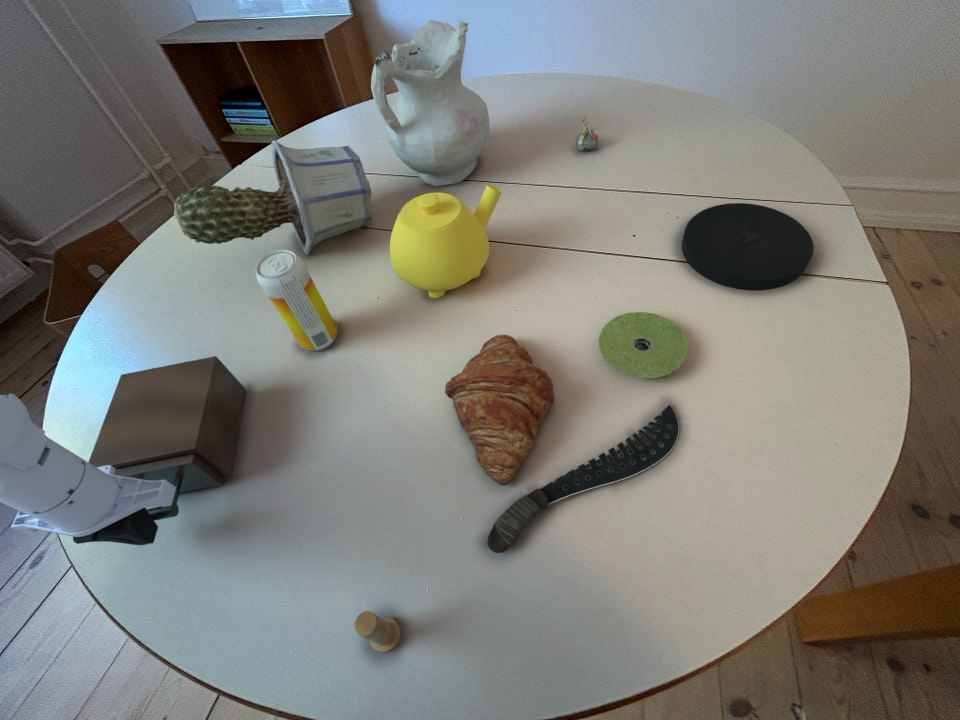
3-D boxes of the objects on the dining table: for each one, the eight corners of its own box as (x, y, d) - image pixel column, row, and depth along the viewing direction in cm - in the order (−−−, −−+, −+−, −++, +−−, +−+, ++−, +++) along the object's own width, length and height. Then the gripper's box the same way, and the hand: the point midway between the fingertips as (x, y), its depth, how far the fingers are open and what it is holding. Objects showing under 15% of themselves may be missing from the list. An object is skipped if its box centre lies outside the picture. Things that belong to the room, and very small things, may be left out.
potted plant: (338, 117, 86) (145, 138, 73) (380, 163, 77) (166, 198, 64) (346, 206, 99) (183, 238, 86) (383, 255, 90) (206, 299, 77)
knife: (697, 437, 58) (666, 406, 61) (702, 430, 57) (670, 399, 59) (502, 571, 51) (477, 529, 54) (502, 567, 50) (476, 524, 52)
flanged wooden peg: (387, 659, 47) (366, 650, 42) (365, 639, 49) (342, 628, 43) (406, 630, 49) (388, 618, 43) (384, 611, 50) (364, 597, 44)
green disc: (586, 331, 69) (586, 322, 67) (661, 312, 69) (664, 303, 68) (616, 395, 62) (618, 387, 60) (700, 374, 62) (704, 365, 61)
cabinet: (232, 477, 61) (194, 448, 55) (133, 497, 61) (85, 470, 55) (247, 390, 70) (216, 355, 63) (160, 407, 70) (120, 374, 63)
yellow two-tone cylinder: (327, 316, 77) (286, 241, 65) (346, 337, 74) (307, 262, 62) (293, 337, 75) (245, 264, 63) (311, 360, 72) (263, 287, 60)
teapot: (481, 218, 87) (471, 145, 76) (532, 263, 79) (529, 188, 68) (382, 267, 82) (356, 196, 71) (425, 321, 74) (404, 250, 63)
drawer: (215, 522, 57) (182, 502, 52) (119, 541, 57) (78, 523, 52) (237, 400, 68) (212, 374, 63) (156, 416, 67) (125, 391, 62)
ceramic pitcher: (458, 217, 90) (444, 75, 70) (370, 192, 96) (333, 54, 75) (505, 155, 101) (505, 16, 81) (423, 136, 107) (404, 2, 86)
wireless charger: (680, 283, 72) (683, 273, 71) (682, 210, 82) (685, 200, 81) (815, 296, 68) (821, 286, 66) (800, 217, 78) (805, 206, 76)
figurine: (584, 139, 99) (586, 109, 94) (603, 145, 97) (606, 115, 92) (569, 151, 97) (570, 122, 92) (588, 158, 95) (590, 127, 90)
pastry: (593, 414, 61) (598, 377, 54) (500, 493, 56) (494, 463, 50) (505, 340, 70) (501, 301, 63) (419, 402, 65) (404, 367, 59)
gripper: (144, 430, 46) (220, 489, 57) (-6, 459, 46) (98, 513, 57) (120, 499, 42) (208, 550, 52) (-46, 532, 42) (75, 576, 52)
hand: (149, 535), depth 54 cm, fingers closed, pressing on drawer
